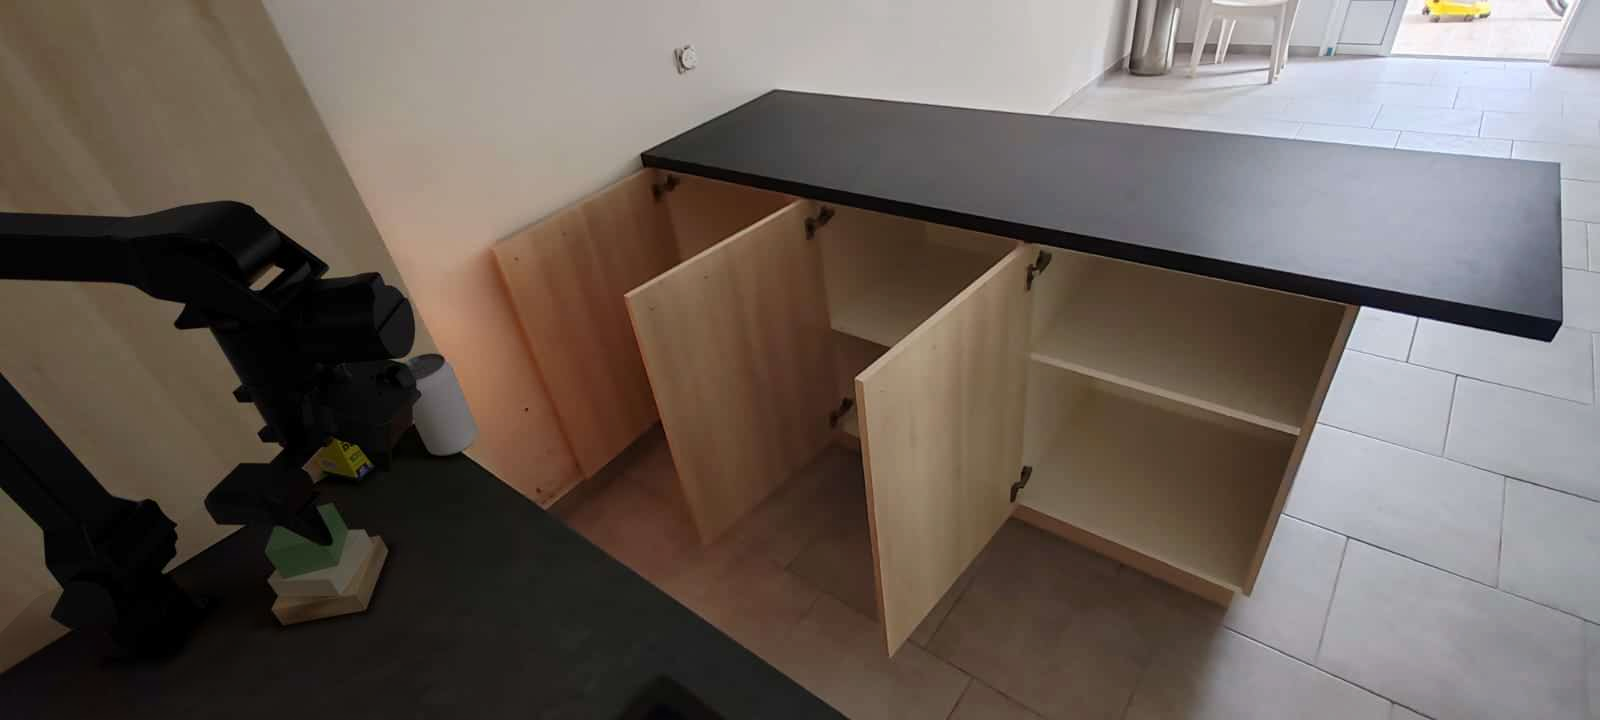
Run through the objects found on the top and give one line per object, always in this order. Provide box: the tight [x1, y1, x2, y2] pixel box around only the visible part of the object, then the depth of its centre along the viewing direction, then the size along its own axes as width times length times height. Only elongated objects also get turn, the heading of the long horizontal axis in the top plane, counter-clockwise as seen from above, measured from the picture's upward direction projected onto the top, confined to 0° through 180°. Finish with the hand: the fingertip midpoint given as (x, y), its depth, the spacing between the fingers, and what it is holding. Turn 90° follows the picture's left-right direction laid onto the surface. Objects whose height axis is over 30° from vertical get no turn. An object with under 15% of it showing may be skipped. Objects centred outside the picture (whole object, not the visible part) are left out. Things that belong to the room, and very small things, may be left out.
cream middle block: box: [266, 529, 374, 597], centre depth 76 cm, size 6×6×2 cm
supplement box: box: [316, 438, 394, 483], centre depth 92 cm, size 6×6×11 cm
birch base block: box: [271, 535, 389, 626], centre depth 77 cm, size 8×8×2 cm
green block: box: [264, 502, 349, 579], centre depth 74 cm, size 5×5×4 cm
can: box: [403, 352, 479, 457], centre depth 94 cm, size 6×6×12 cm
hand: (358, 505), depth 67 cm, fingers open, 9 cm apart
